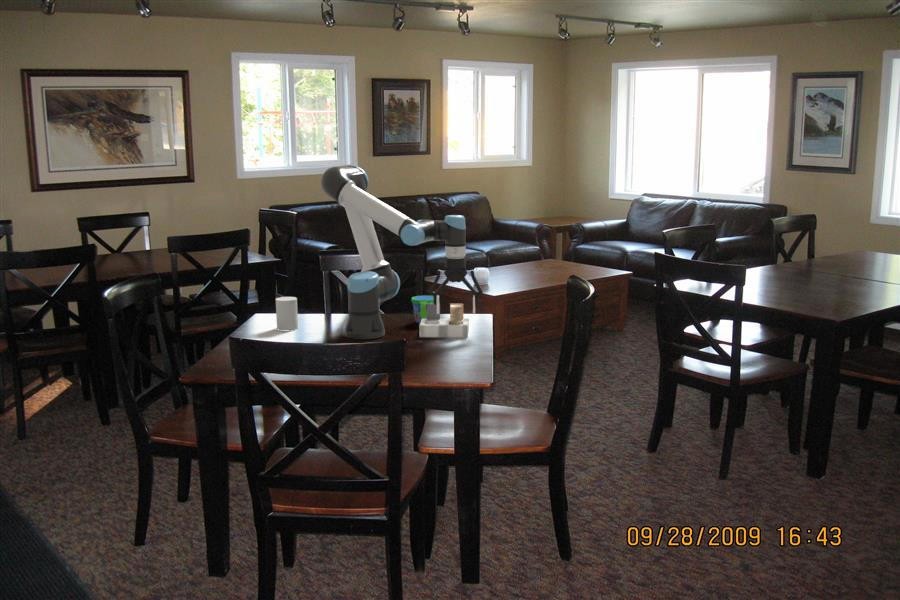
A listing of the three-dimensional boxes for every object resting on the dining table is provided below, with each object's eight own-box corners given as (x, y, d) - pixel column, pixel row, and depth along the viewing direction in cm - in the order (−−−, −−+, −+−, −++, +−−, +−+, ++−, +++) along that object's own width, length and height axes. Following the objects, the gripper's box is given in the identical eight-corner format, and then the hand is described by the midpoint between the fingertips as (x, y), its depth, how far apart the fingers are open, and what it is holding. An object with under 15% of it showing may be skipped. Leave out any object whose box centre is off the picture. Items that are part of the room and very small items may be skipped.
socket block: (419, 337, 314) (419, 309, 312) (422, 329, 326) (421, 303, 324) (467, 337, 313) (467, 309, 311) (468, 329, 325) (468, 303, 323)
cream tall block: (450, 335, 316) (450, 307, 314) (450, 333, 320) (450, 305, 318) (461, 335, 316) (461, 307, 314) (461, 333, 320) (461, 304, 318)
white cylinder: (286, 325, 335) (285, 296, 333) (302, 327, 331) (301, 297, 329) (272, 329, 328) (271, 299, 326) (288, 332, 324) (287, 301, 322)
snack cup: (416, 317, 347) (415, 293, 345) (441, 318, 346) (440, 294, 344) (408, 326, 332) (407, 301, 330) (434, 327, 330) (434, 301, 328)
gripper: (421, 258, 309) (422, 315, 313) (489, 258, 308) (489, 315, 312) (422, 255, 317) (423, 311, 321) (489, 255, 315) (489, 311, 319)
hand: (456, 313), depth 316 cm, fingers open, 13 cm apart
